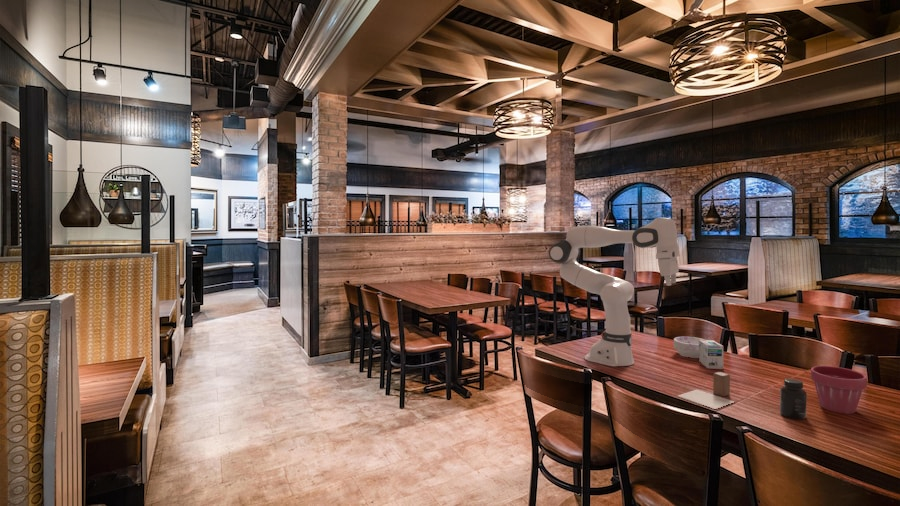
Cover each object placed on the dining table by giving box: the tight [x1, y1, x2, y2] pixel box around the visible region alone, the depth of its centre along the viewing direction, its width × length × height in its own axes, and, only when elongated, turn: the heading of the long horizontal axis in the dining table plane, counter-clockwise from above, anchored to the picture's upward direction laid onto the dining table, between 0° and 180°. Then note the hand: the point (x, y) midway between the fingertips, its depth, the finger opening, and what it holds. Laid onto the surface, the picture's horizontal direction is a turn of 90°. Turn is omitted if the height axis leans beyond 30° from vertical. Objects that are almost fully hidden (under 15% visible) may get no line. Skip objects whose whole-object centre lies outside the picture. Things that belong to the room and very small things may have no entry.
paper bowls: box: [673, 336, 705, 359], centre depth 208 cm, size 15×15×8 cm
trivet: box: [676, 389, 735, 410], centre depth 154 cm, size 12×14×1 cm
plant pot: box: [810, 365, 868, 415], centre depth 144 cm, size 14×14×13 cm
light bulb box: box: [698, 339, 724, 370], centre depth 193 cm, size 11×7×11 cm, turn 168°
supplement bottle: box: [779, 378, 808, 421], centre depth 139 cm, size 7×7×12 cm
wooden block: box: [712, 371, 731, 398], centre depth 159 cm, size 4×4×8 cm
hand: (671, 284), depth 185 cm, fingers open, 8 cm apart
